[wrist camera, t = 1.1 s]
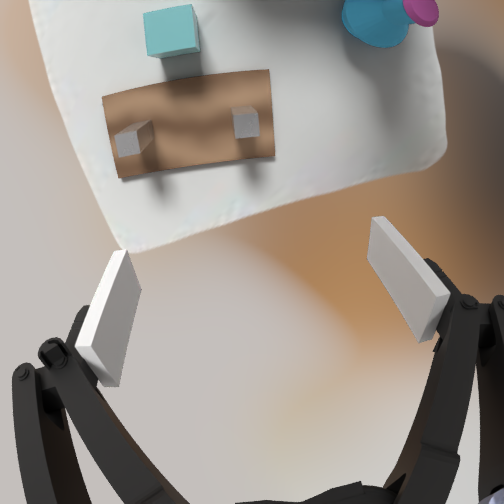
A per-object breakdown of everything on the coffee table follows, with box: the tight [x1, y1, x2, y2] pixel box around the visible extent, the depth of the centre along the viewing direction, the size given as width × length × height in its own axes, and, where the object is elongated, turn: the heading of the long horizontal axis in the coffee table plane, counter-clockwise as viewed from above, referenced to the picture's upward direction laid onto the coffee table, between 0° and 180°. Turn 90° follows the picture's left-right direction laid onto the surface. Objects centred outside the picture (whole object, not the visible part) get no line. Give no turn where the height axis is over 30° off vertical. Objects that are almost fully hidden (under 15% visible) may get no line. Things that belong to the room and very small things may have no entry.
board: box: [102, 69, 275, 178], centre depth 38 cm, size 12×22×1 cm, turn 95°
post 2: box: [231, 105, 260, 139], centre depth 34 cm, size 3×3×8 cm
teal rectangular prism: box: [143, 4, 200, 58], centre depth 28 cm, size 5×5×8 cm
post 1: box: [114, 120, 154, 158], centre depth 34 cm, size 3×3×8 cm
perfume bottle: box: [342, 0, 439, 48], centre depth 25 cm, size 9×9×15 cm
